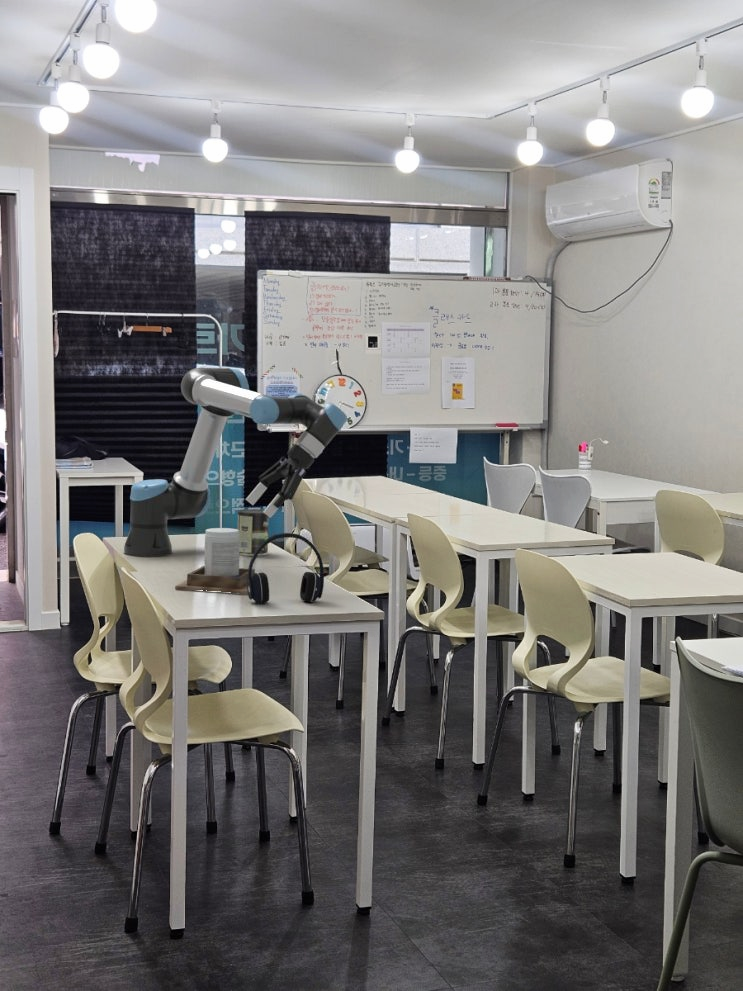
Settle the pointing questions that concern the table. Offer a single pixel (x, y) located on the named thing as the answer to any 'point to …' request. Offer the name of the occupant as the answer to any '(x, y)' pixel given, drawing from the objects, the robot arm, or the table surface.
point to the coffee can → (252, 531)
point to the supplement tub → (222, 552)
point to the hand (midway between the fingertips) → (257, 508)
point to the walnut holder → (215, 582)
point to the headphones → (310, 580)
